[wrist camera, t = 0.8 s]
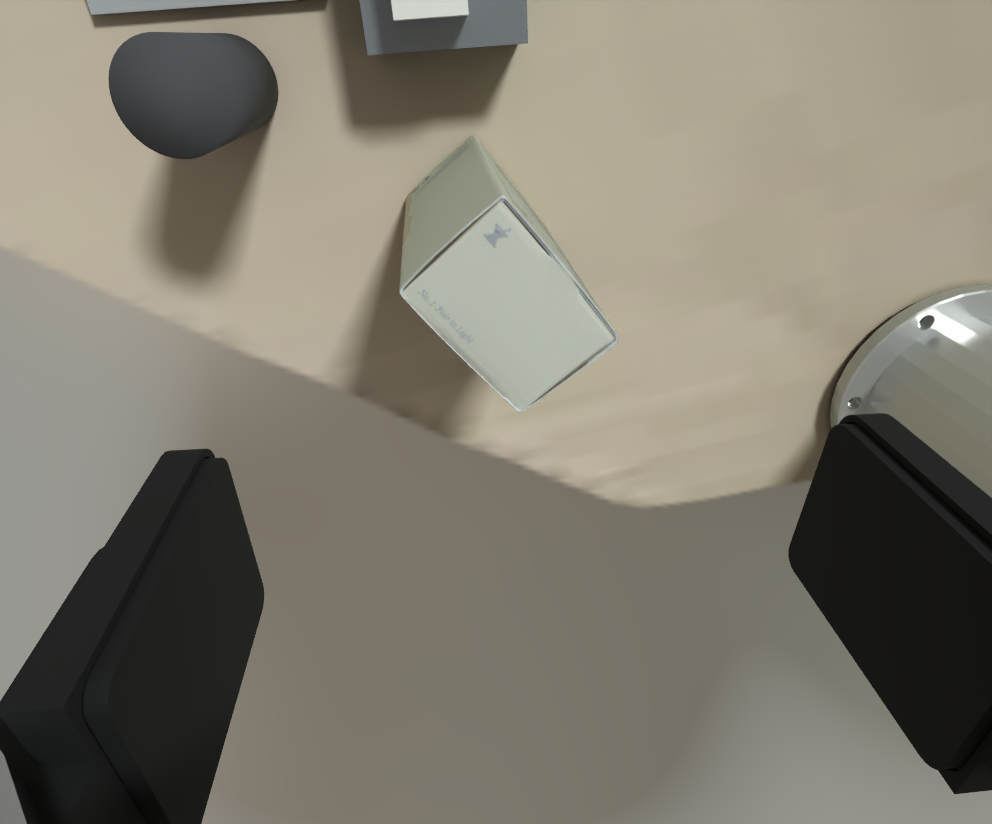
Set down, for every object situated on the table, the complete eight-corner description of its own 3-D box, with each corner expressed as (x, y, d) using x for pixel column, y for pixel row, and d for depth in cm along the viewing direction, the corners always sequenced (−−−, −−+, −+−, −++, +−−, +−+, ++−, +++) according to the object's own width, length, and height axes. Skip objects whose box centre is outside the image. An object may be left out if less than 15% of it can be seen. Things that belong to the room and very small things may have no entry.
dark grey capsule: (265, 30, 24) (209, 27, 18) (287, 128, 26) (243, 154, 20) (174, 36, 24) (89, 36, 18) (203, 134, 26) (134, 163, 20)
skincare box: (403, 196, 28) (384, 288, 18) (475, 128, 27) (500, 185, 17) (490, 293, 31) (517, 421, 21) (559, 236, 30) (624, 341, 19)
